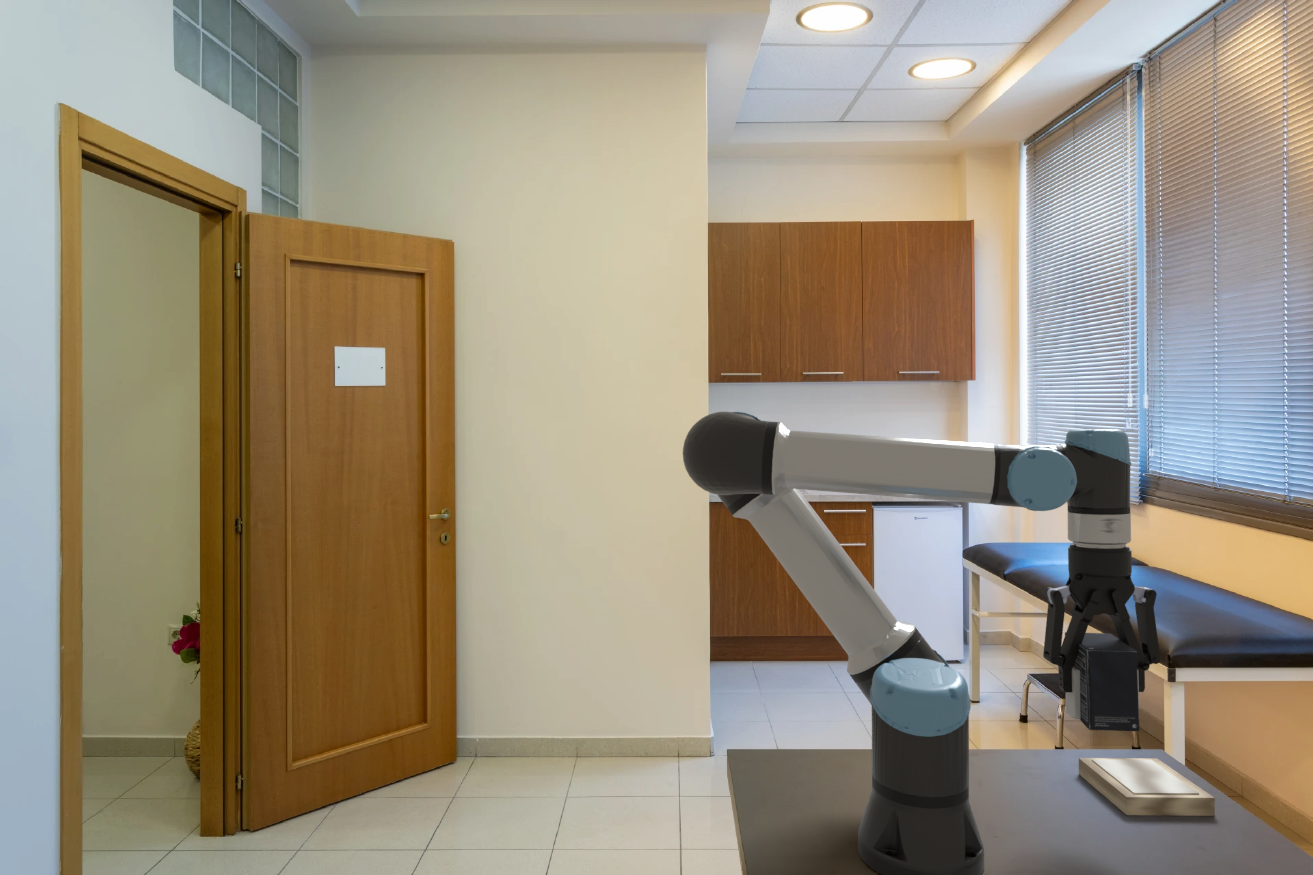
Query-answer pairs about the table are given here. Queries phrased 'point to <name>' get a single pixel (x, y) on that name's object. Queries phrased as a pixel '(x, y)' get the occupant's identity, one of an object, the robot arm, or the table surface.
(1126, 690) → the small box
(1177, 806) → the beech picture frame
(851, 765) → the table surface
